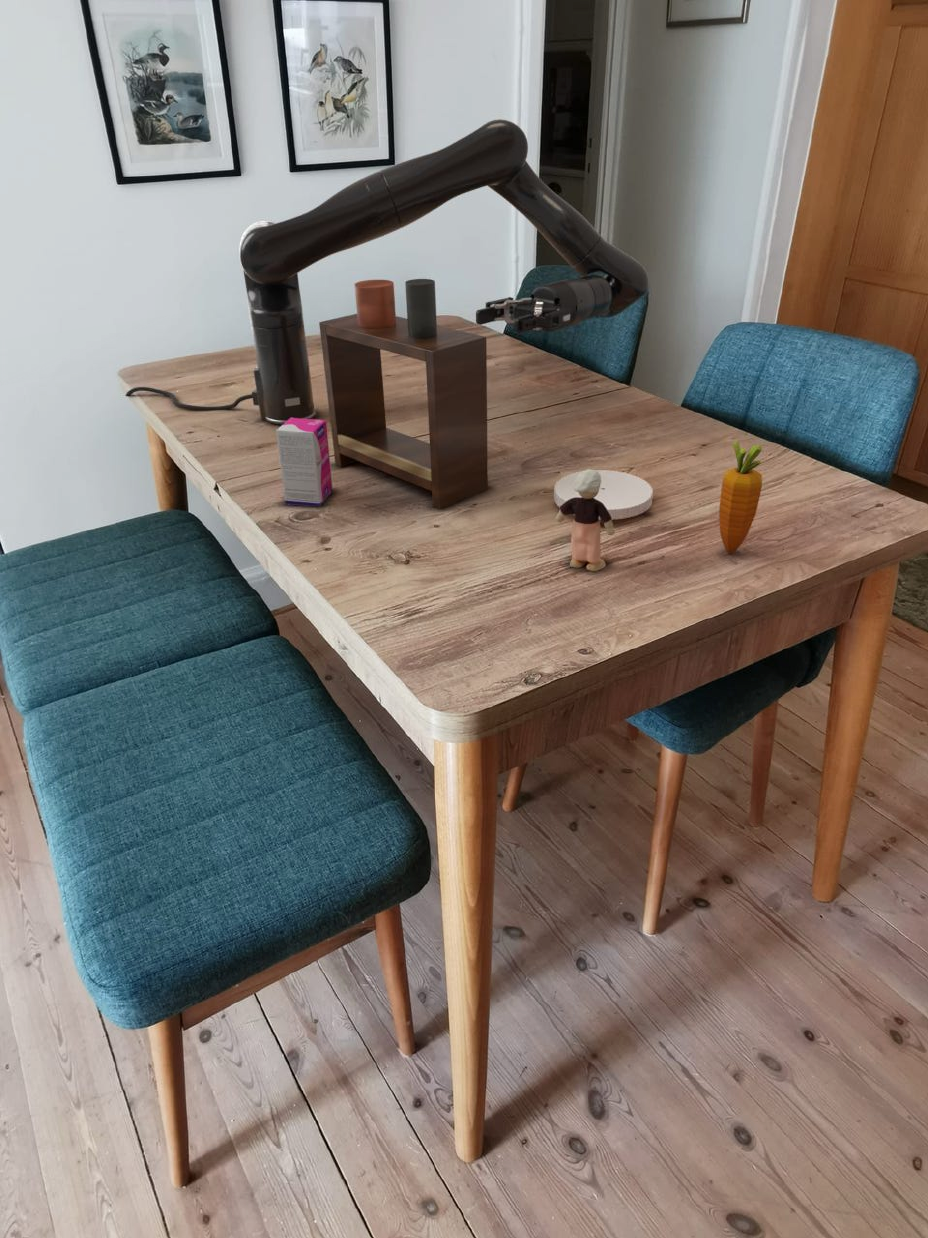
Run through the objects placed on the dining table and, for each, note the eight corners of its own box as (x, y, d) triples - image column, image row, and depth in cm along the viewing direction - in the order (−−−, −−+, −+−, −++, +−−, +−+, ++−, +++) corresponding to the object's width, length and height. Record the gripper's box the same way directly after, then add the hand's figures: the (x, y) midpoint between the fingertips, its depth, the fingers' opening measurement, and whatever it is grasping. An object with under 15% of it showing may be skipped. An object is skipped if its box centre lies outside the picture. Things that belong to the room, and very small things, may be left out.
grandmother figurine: (615, 560, 106) (623, 467, 100) (610, 574, 103) (617, 480, 97) (557, 552, 109) (560, 461, 102) (550, 566, 106) (553, 473, 99)
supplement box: (322, 507, 122) (312, 432, 116) (284, 504, 123) (272, 430, 117) (334, 491, 127) (326, 418, 121) (298, 488, 128) (288, 416, 122)
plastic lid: (551, 485, 127) (551, 470, 125) (643, 485, 126) (644, 469, 125) (556, 526, 115) (557, 510, 114) (658, 526, 114) (660, 509, 113)
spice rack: (335, 464, 136) (313, 271, 120) (382, 448, 142) (367, 261, 126) (440, 509, 121) (430, 295, 105) (488, 488, 126) (486, 282, 110)
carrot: (705, 545, 109) (721, 436, 101) (741, 543, 110) (761, 434, 102) (717, 563, 105) (735, 451, 97) (756, 561, 105) (777, 448, 97)
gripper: (531, 275, 144) (464, 291, 134) (596, 286, 135) (530, 303, 126) (530, 320, 148) (465, 338, 138) (594, 333, 139) (529, 353, 130)
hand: (496, 321), depth 132 cm, fingers open, 8 cm apart
